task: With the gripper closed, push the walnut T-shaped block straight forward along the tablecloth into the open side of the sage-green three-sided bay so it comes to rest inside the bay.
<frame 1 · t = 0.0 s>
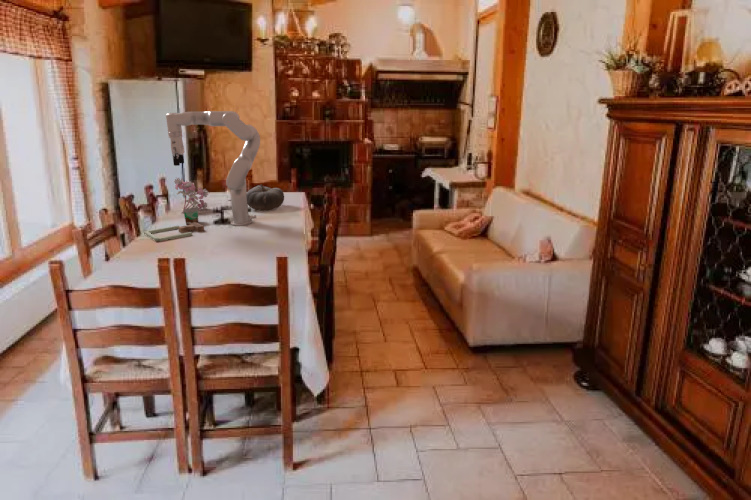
hand: (179, 164, 323), 37 cm above the table, fingers open, 9 cm apart
flower: (196, 210, 375), on the table
gourd: (266, 209, 374), on the table
sage-green bay: (169, 234, 315), on the table
walnut T block: (190, 230, 322), on the table
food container: (194, 223, 340), on the table
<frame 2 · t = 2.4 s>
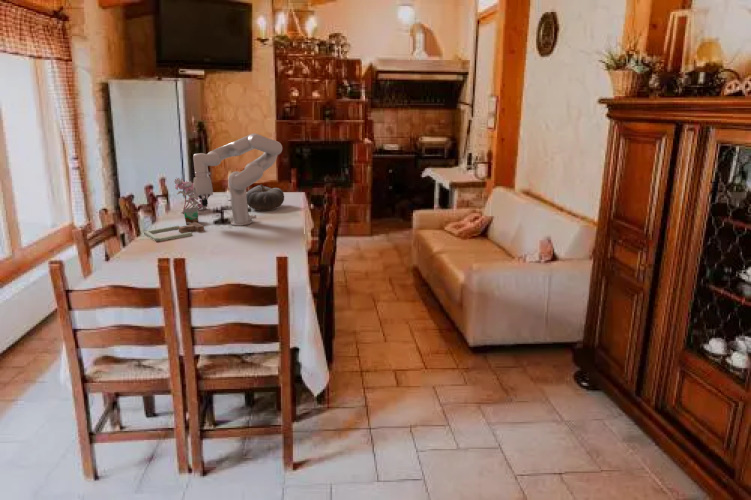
hand: (205, 205, 324), 13 cm above the table, fingers closed
nothing on the table moved.
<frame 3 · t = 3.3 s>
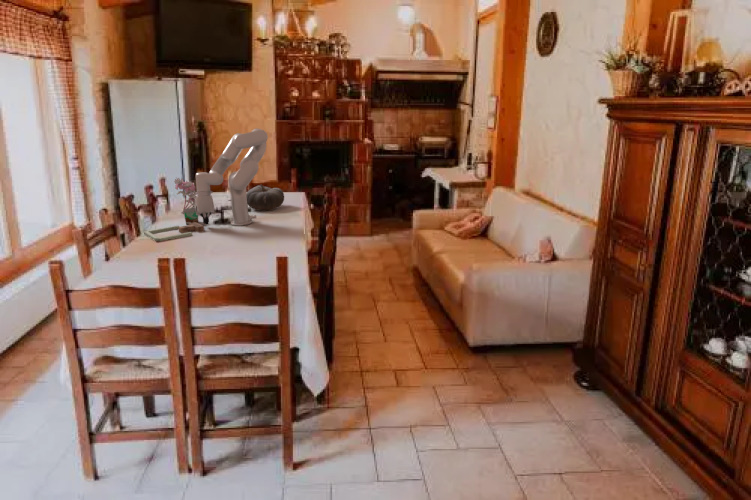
hand: (206, 223, 327), 2 cm above the table, fingers closed
nothing on the table moved.
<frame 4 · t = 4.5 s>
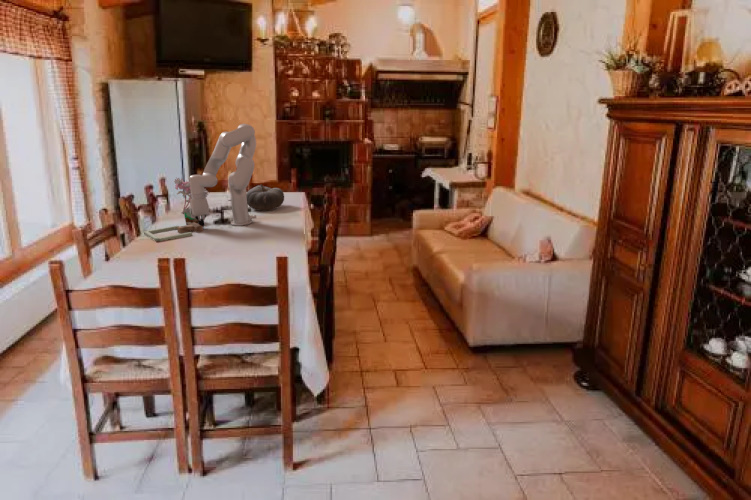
hand: (201, 226, 326), 1 cm above the table, fingers closed
walnut T block: (189, 230, 321), on the table, touching gripper
everything else where it was.
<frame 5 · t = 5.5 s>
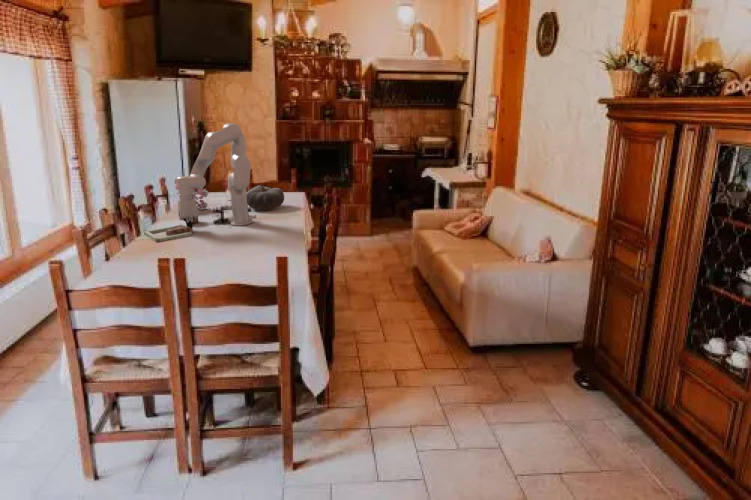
hand: (190, 228, 322), 1 cm above the table, fingers closed
walnut T block: (177, 233, 316), on the table, touching gripper
everything else where it was.
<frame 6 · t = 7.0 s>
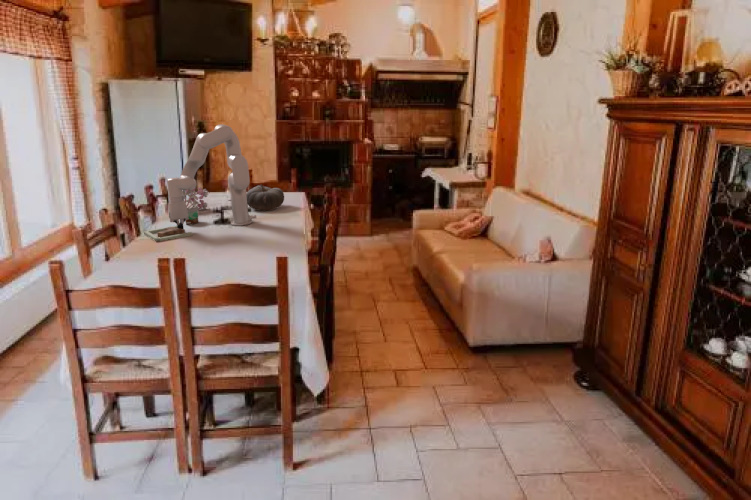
hand: (180, 230, 318), 1 cm above the table, fingers closed
walnut T block: (169, 235, 313), on the table, touching gripper
everything else where it was.
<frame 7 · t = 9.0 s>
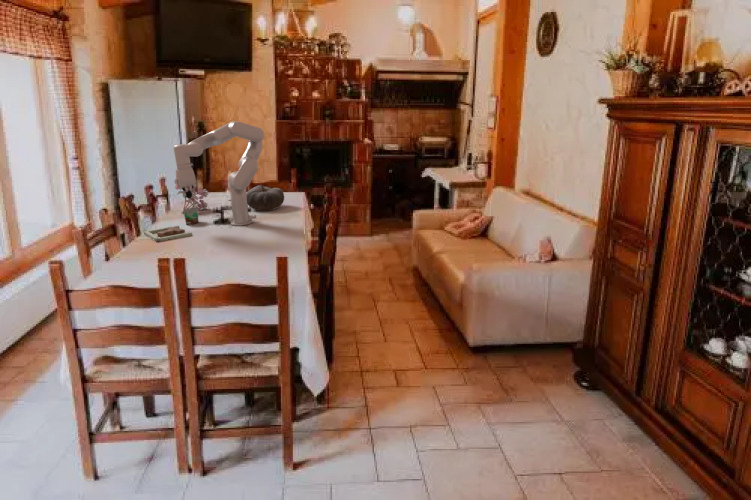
hand: (189, 197, 317), 19 cm above the table, fingers closed
walnut T block: (169, 235, 313), on the table
everything else where it was.
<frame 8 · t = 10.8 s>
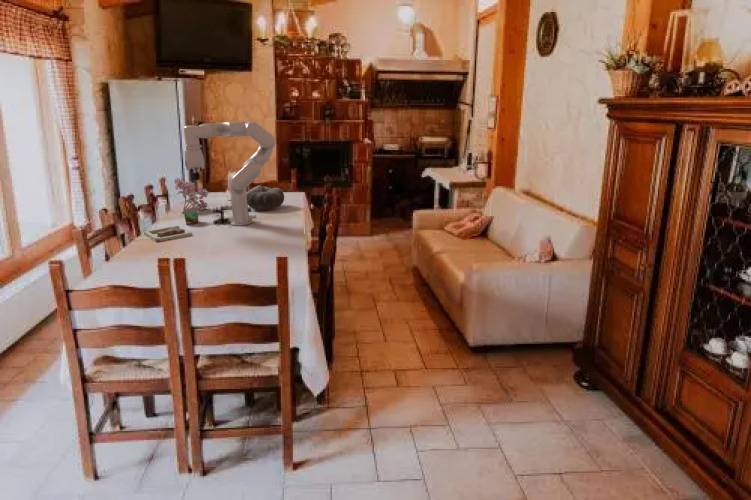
hand: (196, 179, 319), 29 cm above the table, fingers closed
nothing on the table moved.
at the end: walnut T block 2.5 cm off-centre on the sage-green bay, point 0.0 cm above the sage-green bay's base; walnut T block tilted 0° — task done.
